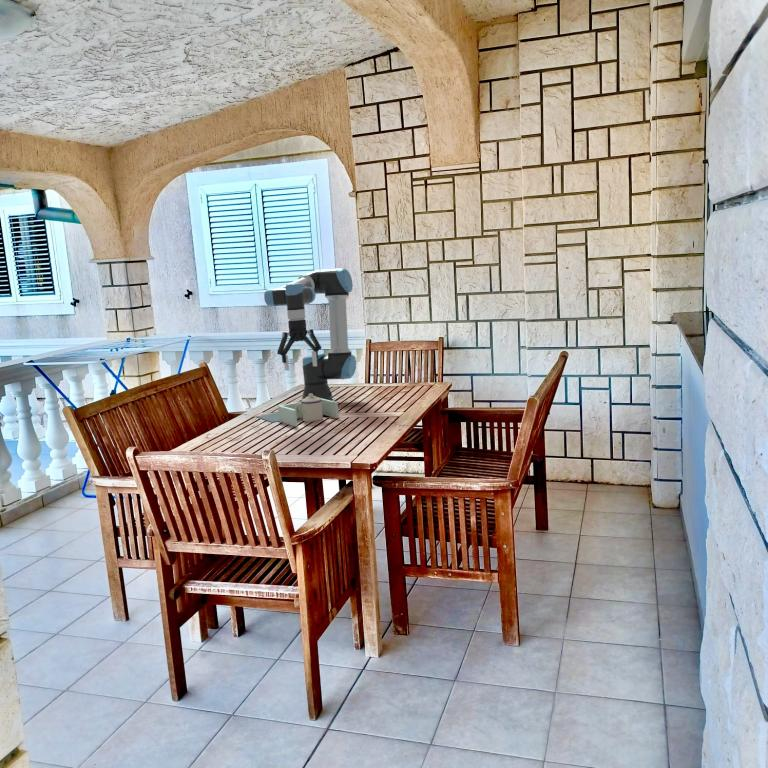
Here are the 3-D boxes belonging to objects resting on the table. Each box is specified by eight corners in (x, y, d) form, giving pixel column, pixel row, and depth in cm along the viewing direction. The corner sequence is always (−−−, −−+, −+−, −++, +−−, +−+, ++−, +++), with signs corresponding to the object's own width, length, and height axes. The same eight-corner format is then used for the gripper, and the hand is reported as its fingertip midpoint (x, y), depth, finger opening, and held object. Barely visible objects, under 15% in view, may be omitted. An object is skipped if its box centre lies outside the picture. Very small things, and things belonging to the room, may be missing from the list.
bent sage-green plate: (321, 413, 337) (320, 398, 336) (338, 417, 324) (337, 402, 323) (279, 421, 326) (277, 405, 325) (295, 426, 313) (293, 410, 312)
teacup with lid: (326, 417, 327) (323, 391, 325) (319, 421, 318) (317, 395, 317) (300, 417, 330) (298, 392, 328) (293, 422, 321) (291, 396, 319)
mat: (291, 410, 349) (291, 409, 349) (308, 415, 334) (308, 414, 334) (255, 417, 339) (255, 416, 339) (272, 422, 324) (272, 421, 324)
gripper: (318, 316, 327) (322, 363, 331) (266, 322, 314) (271, 371, 317) (326, 316, 321) (330, 365, 324) (274, 322, 308) (278, 372, 311)
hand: (301, 368), depth 321 cm, fingers open, 13 cm apart
